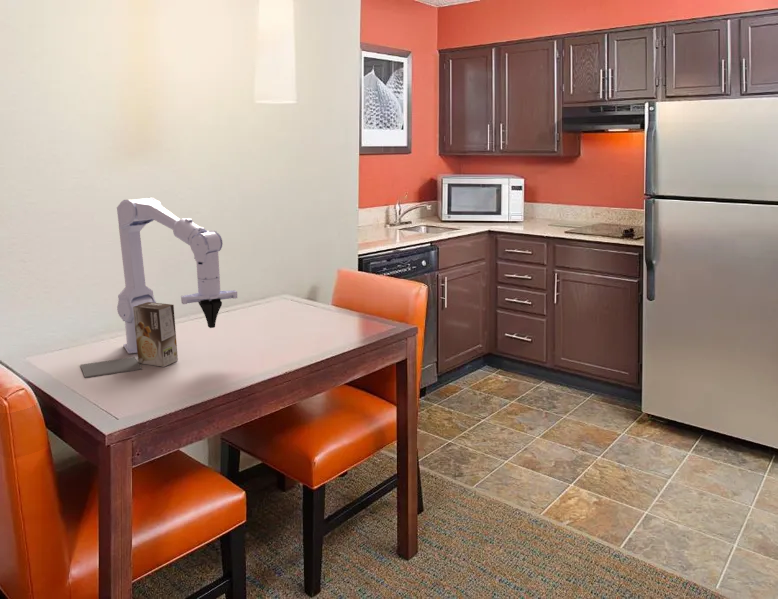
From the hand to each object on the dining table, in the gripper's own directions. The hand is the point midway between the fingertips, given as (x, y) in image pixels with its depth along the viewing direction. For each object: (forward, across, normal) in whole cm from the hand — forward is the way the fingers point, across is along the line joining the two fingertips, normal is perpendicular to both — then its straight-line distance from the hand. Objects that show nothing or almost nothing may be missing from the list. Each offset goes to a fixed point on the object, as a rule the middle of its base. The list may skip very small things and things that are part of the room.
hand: (211, 326), depth 184 cm
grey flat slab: (+10, -25, +10) cm, 29 cm away
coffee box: (+11, -13, +9) cm, 19 cm away
